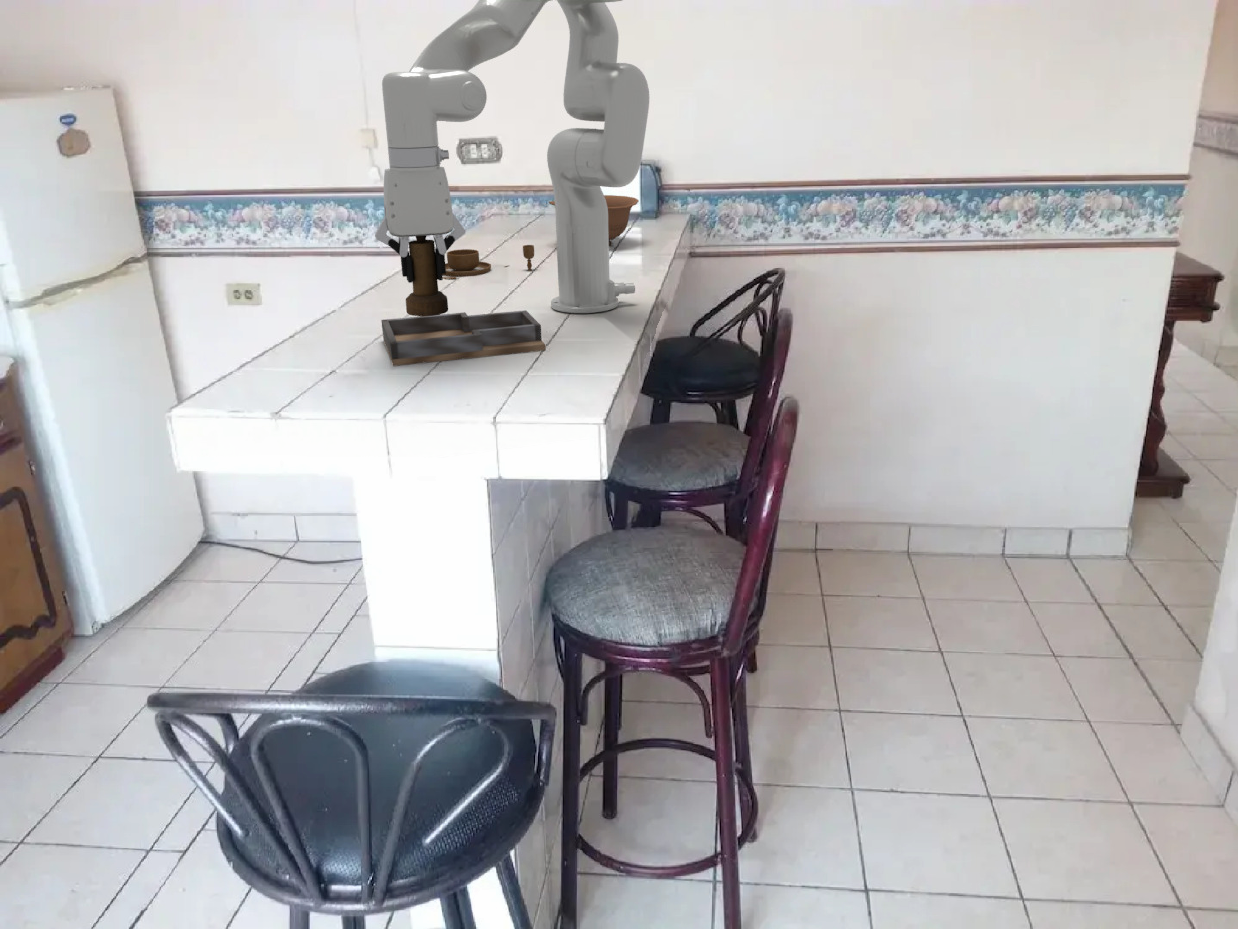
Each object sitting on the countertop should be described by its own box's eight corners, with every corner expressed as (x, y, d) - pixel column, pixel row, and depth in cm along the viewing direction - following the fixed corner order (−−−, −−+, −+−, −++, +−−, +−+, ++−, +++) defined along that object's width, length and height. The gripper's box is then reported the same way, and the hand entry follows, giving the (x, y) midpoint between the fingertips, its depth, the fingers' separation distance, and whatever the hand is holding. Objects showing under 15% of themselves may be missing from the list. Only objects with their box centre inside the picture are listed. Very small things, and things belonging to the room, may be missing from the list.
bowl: (538, 242, 256) (536, 197, 252) (618, 234, 264) (617, 191, 260) (568, 256, 237) (566, 208, 233) (653, 247, 245) (653, 201, 241)
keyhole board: (524, 326, 176) (522, 307, 175) (545, 350, 162) (544, 328, 160) (383, 340, 170) (381, 319, 168) (393, 365, 155) (390, 343, 154)
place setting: (467, 264, 233) (465, 238, 231) (540, 271, 224) (538, 244, 222) (418, 279, 219) (415, 251, 217) (493, 287, 210) (491, 258, 208)
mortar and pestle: (398, 314, 160) (387, 197, 153) (419, 306, 166) (409, 192, 159) (436, 317, 158) (426, 199, 151) (455, 308, 164) (447, 194, 157)
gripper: (465, 155, 159) (473, 272, 166) (356, 159, 154) (368, 279, 161) (473, 158, 152) (481, 280, 159) (359, 163, 148) (372, 288, 154)
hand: (424, 278), depth 160 cm, fingers closed on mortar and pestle, 4 cm apart
